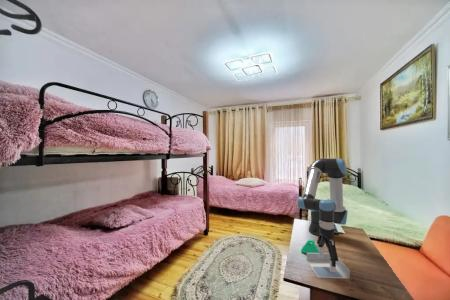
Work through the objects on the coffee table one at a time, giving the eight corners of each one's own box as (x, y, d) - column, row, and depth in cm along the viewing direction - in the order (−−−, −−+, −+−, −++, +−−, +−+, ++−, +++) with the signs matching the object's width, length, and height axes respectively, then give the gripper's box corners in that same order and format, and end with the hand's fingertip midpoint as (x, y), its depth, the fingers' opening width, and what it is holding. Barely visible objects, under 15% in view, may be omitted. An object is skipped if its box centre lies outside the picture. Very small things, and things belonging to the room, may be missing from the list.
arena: (306, 260, 124) (306, 252, 124) (333, 261, 123) (333, 253, 123) (318, 277, 107) (318, 268, 107) (349, 278, 106) (349, 269, 106)
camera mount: (322, 253, 132) (322, 238, 132) (320, 259, 126) (320, 243, 126) (303, 248, 139) (303, 234, 139) (301, 253, 133) (301, 238, 133)
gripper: (311, 219, 124) (311, 252, 124) (330, 236, 100) (331, 278, 99) (323, 220, 124) (323, 253, 124) (345, 237, 99) (346, 278, 99)
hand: (326, 264), depth 112 cm, fingers open, 13 cm apart
